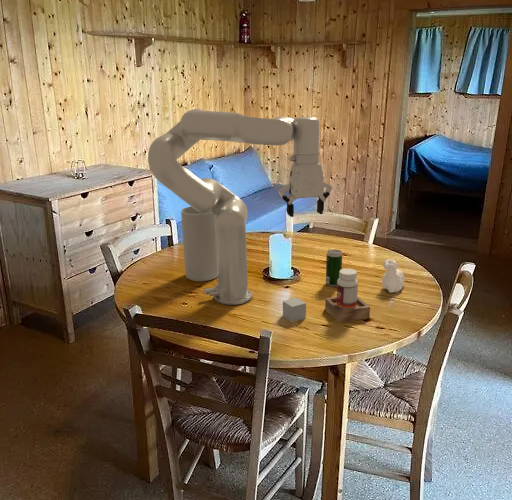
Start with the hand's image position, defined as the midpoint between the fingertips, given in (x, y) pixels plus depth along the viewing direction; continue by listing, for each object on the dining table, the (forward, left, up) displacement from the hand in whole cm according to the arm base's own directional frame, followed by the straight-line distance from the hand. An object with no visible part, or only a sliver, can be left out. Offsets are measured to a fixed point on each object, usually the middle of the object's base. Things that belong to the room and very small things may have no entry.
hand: (305, 214), depth 162 cm
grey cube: (-8, -12, -28) cm, 32 cm away
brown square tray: (+8, -15, -28) cm, 33 cm away
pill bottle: (+8, -15, -26) cm, 31 cm away
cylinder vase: (-28, +31, -28) cm, 51 cm away
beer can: (+14, +8, -28) cm, 33 cm away
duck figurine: (+31, -2, -28) cm, 42 cm away
